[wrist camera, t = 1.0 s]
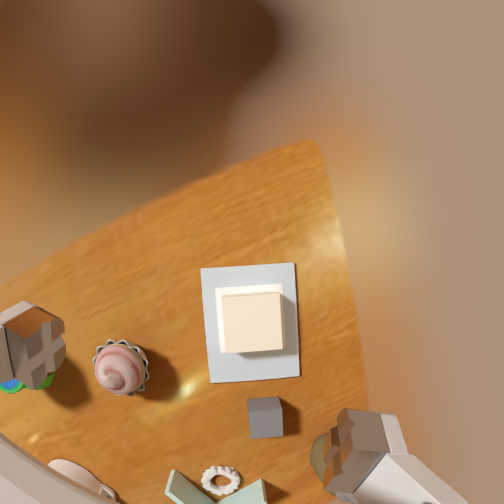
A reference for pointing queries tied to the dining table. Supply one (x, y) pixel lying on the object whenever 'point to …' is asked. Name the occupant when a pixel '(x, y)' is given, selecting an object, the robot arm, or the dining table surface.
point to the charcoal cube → (265, 417)
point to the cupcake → (121, 367)
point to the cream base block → (252, 321)
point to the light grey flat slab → (220, 362)
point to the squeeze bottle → (320, 466)
